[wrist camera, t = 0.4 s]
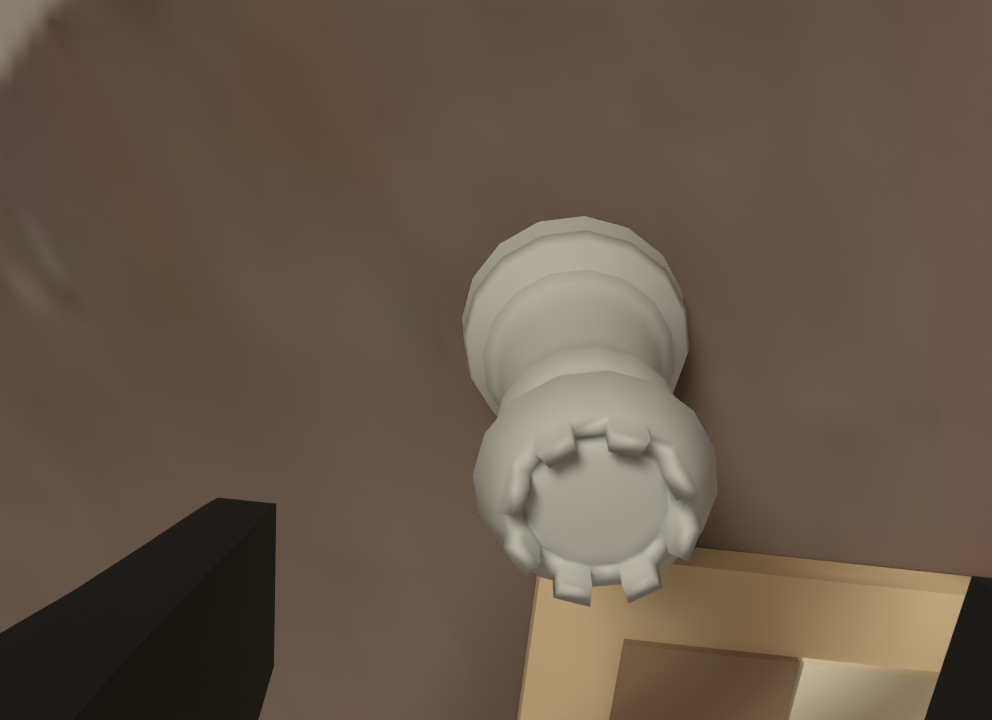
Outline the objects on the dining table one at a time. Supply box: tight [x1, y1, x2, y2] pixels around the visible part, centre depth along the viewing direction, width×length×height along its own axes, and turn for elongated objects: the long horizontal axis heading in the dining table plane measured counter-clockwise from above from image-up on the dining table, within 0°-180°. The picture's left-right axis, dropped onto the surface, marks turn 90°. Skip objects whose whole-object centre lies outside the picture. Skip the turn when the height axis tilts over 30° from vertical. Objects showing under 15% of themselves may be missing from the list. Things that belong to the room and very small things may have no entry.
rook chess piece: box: [462, 216, 718, 607], centre depth 15 cm, size 4×4×8 cm
